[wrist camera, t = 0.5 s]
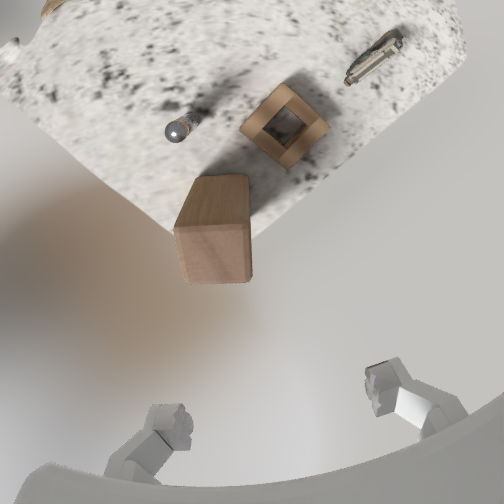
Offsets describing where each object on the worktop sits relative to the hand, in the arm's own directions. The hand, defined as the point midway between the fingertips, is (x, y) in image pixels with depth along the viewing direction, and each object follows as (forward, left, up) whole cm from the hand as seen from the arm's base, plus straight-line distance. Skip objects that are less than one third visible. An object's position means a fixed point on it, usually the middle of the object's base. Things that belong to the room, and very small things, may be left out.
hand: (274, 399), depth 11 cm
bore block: (-7, +1, -45) cm, 46 cm away
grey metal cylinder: (+3, -12, -45) cm, 47 cm away
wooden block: (+11, +2, -45) cm, 47 cm away
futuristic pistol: (-28, +3, -45) cm, 53 cm away
